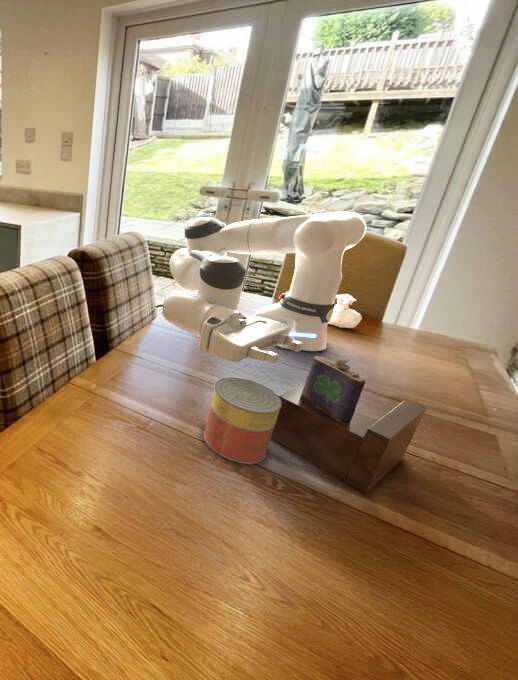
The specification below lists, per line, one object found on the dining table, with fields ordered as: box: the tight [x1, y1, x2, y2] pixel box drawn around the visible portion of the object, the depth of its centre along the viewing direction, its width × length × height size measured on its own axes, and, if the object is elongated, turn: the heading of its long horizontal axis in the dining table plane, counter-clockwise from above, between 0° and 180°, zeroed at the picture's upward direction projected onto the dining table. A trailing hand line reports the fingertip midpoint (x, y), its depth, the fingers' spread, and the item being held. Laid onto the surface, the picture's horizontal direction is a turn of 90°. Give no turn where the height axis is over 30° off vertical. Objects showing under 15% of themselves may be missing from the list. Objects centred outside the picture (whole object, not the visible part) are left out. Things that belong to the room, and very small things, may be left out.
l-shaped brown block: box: [270, 384, 427, 494], centre depth 77 cm, size 17×16×12 cm
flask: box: [301, 355, 366, 424], centre depth 73 cm, size 9×3×11 cm, turn 13°
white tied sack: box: [328, 293, 363, 329], centre depth 132 cm, size 12×8×11 cm
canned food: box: [203, 377, 282, 465], centre depth 78 cm, size 11×11×12 cm
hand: (289, 353), depth 79 cm, fingers open, 8 cm apart
